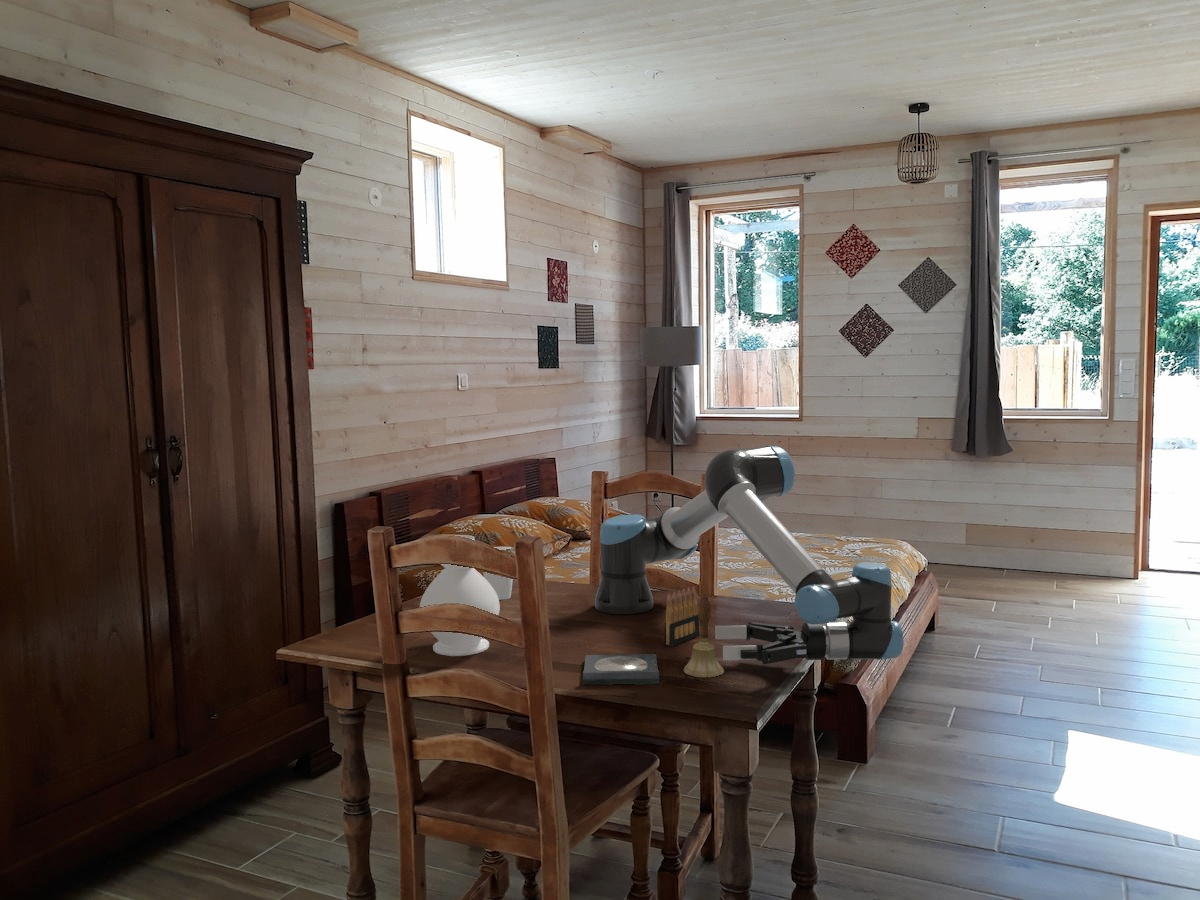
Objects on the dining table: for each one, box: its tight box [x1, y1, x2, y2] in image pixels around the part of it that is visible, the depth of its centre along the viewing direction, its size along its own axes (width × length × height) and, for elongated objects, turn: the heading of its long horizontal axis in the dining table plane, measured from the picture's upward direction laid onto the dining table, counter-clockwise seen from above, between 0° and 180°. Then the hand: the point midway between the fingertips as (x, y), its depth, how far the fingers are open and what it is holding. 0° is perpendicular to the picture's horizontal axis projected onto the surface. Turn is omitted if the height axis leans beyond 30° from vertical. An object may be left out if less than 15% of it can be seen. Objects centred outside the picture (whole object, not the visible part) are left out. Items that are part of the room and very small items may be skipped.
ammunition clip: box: [663, 585, 700, 647], centre depth 211 cm, size 11×2×12 cm, turn 136°
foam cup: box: [482, 546, 514, 601], centre depth 253 cm, size 10×9×13 cm
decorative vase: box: [419, 534, 501, 657], centre depth 208 cm, size 18×18×25 cm
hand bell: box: [683, 594, 725, 679], centre depth 190 cm, size 8×8×16 cm
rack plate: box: [582, 653, 660, 686], centre depth 191 cm, size 15×15×2 cm
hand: (718, 642), depth 189 cm, fingers open, 13 cm apart
